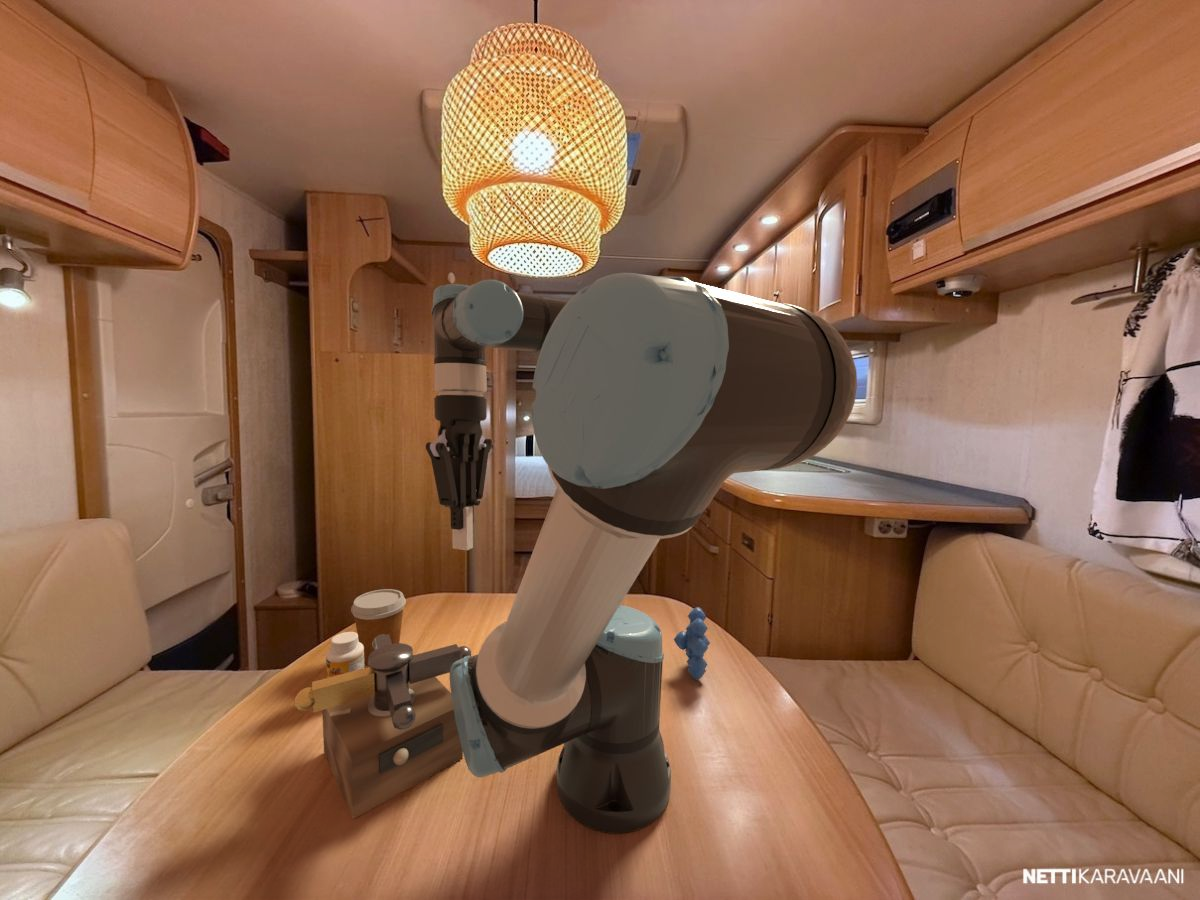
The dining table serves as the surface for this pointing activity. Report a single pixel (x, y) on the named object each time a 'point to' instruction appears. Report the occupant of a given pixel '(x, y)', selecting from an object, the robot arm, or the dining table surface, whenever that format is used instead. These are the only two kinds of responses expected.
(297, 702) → the capstan
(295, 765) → the dining table surface
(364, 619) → the disposable coffee cup
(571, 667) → the robot arm
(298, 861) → the dining table surface
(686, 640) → the grapes
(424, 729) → the stand
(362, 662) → the supplement bottle
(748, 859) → the dining table surface
